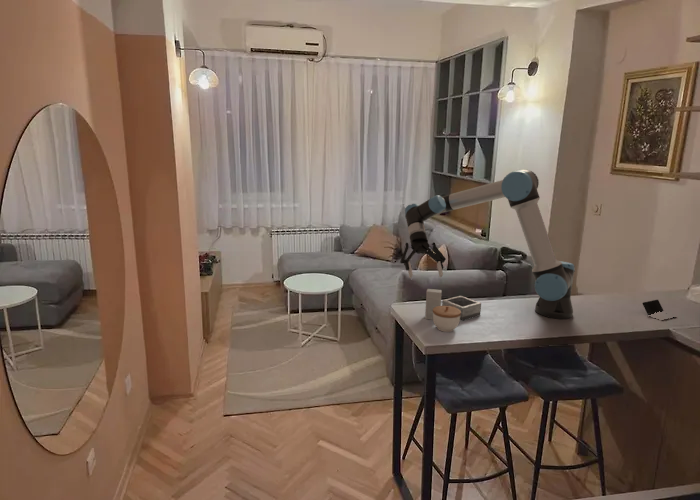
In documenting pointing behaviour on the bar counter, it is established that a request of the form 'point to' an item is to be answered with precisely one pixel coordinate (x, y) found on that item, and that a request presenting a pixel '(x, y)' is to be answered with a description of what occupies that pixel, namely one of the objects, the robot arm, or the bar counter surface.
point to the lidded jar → (446, 318)
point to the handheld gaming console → (652, 307)
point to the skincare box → (432, 302)
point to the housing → (464, 306)
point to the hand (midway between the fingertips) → (426, 276)
